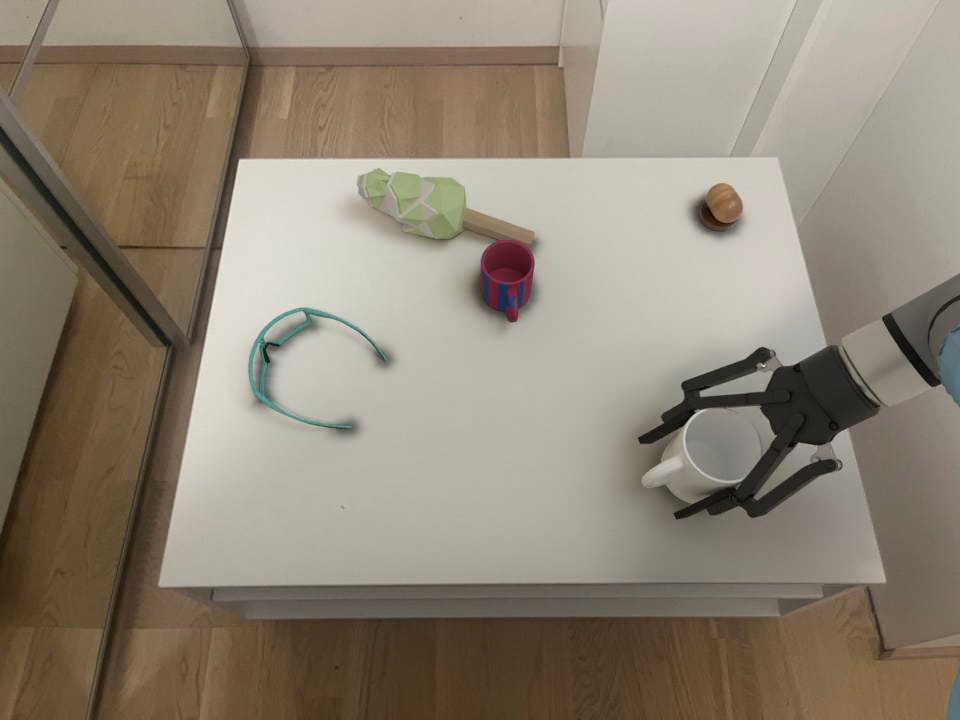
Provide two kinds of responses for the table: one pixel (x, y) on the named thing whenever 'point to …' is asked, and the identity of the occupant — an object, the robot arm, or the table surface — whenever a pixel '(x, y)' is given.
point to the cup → (507, 276)
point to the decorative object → (432, 206)
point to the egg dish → (721, 208)
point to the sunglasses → (265, 344)
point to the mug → (707, 455)
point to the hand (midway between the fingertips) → (661, 477)
